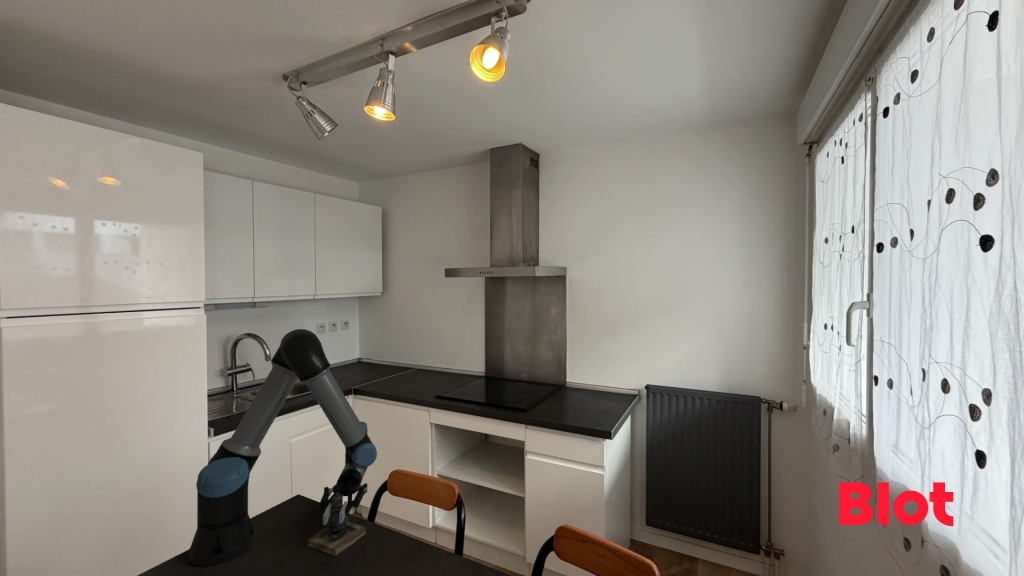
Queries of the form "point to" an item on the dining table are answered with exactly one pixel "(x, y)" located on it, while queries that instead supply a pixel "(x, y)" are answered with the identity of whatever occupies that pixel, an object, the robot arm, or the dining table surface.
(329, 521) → the dark grey tall figure
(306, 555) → the dining table surface
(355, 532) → the square wooden tray
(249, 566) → the dining table surface
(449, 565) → the dining table surface
